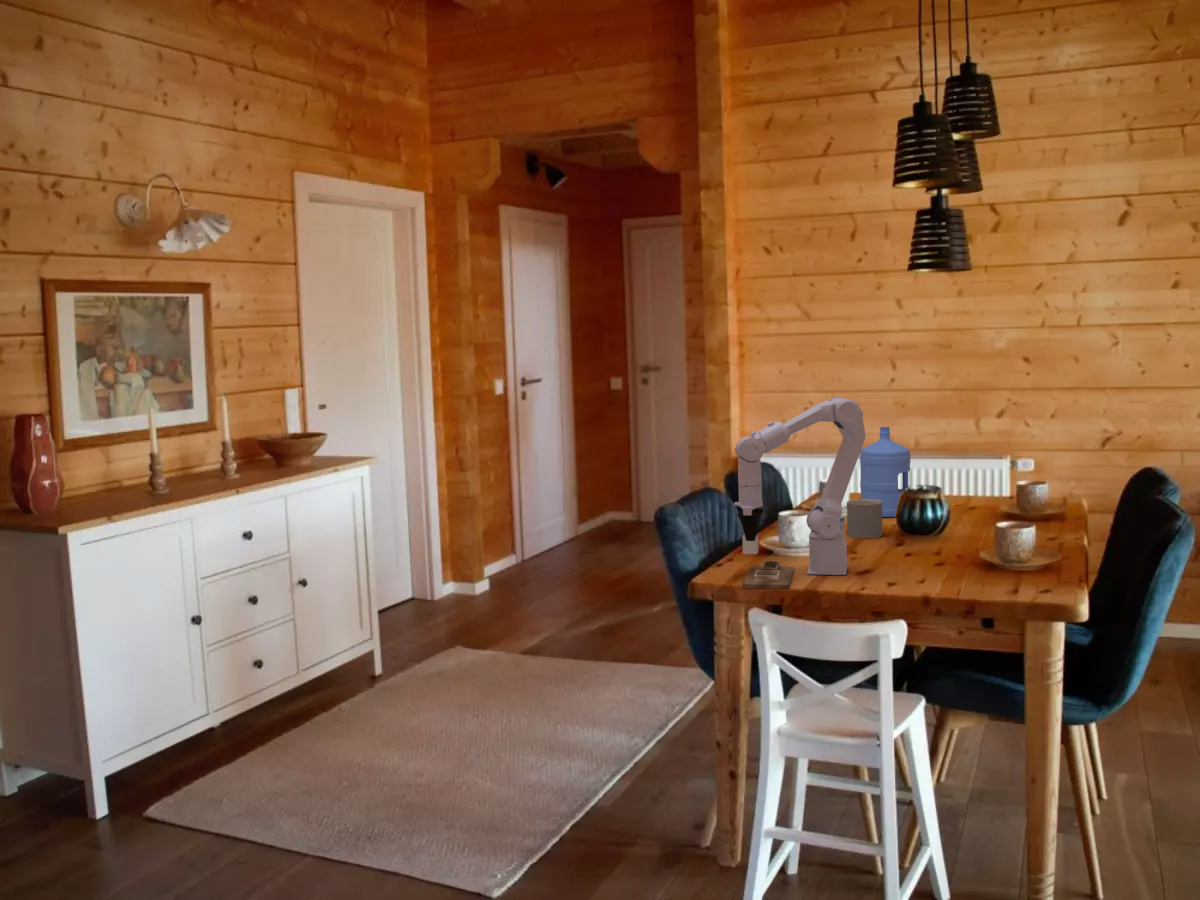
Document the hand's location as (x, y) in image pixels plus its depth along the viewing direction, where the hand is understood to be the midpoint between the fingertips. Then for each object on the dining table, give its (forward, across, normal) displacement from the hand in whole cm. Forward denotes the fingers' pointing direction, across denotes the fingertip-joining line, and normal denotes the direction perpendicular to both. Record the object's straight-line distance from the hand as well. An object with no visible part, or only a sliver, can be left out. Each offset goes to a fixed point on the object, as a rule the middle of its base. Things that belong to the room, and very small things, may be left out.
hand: (751, 539), depth 284 cm
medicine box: (+10, -36, +17) cm, 41 cm away
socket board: (+9, +3, +4) cm, 11 cm away
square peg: (+3, 0, 0) cm, 3 cm away
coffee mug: (+10, -56, +27) cm, 63 cm away
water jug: (+10, -91, +32) cm, 97 cm away
